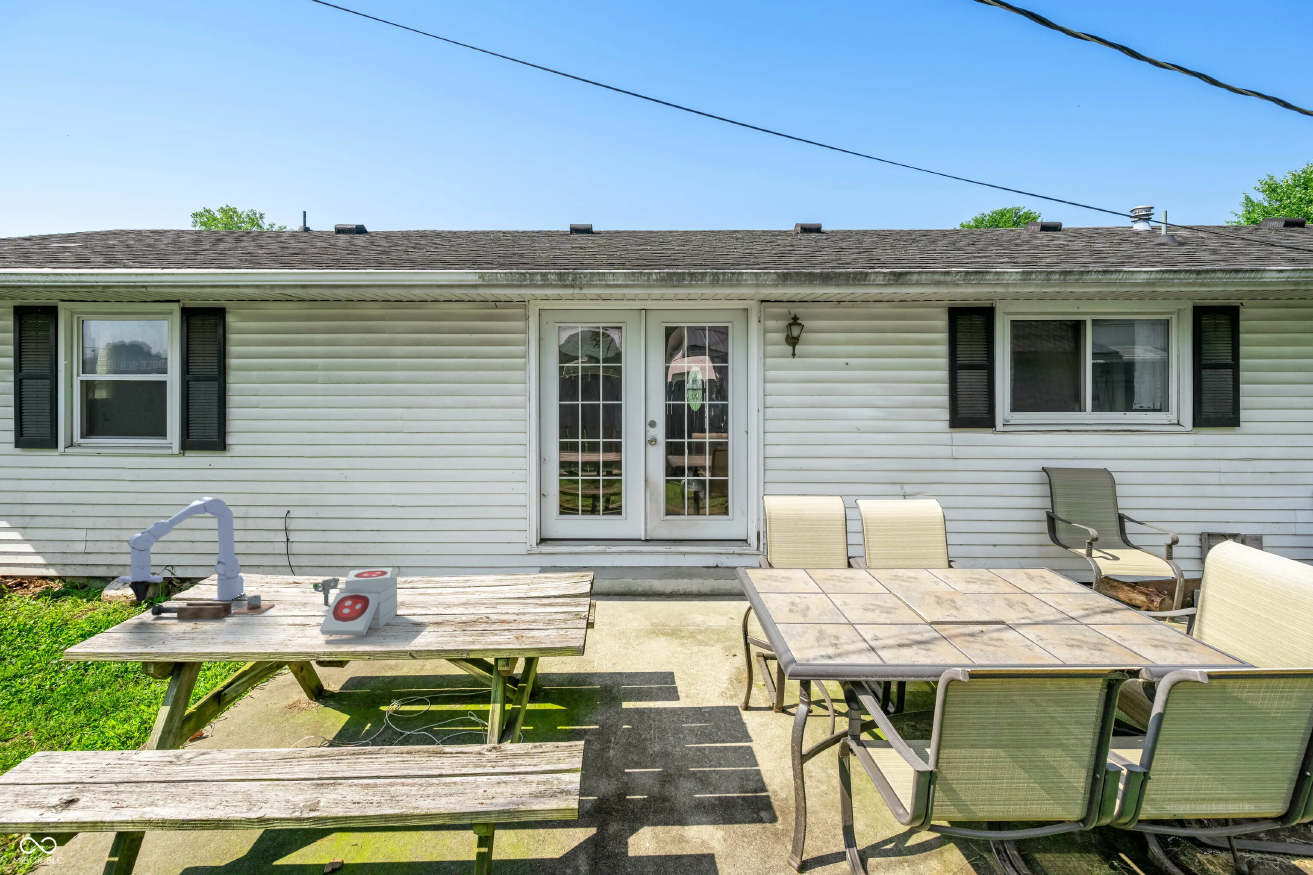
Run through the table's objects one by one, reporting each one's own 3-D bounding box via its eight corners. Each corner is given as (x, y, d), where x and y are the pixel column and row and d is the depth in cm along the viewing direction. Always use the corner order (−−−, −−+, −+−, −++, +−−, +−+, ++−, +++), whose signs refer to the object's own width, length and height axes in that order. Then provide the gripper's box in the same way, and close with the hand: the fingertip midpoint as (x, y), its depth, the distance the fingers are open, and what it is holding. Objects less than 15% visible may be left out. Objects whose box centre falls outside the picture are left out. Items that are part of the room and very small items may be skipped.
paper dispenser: (313, 640, 202) (313, 589, 201) (357, 612, 232) (357, 567, 231) (369, 641, 202) (369, 590, 202) (405, 612, 232) (405, 567, 232)
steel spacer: (251, 606, 235) (251, 594, 234) (263, 605, 235) (263, 594, 235) (244, 609, 230) (244, 598, 230) (256, 609, 230) (256, 598, 230)
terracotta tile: (248, 605, 237) (248, 603, 237) (274, 605, 238) (274, 603, 238) (232, 614, 227) (232, 612, 227) (259, 613, 228) (259, 611, 228)
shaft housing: (177, 619, 221) (176, 607, 221) (188, 613, 227) (188, 602, 227) (221, 618, 222) (221, 606, 222) (231, 613, 228) (231, 602, 228)
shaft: (151, 617, 221) (151, 606, 221) (159, 613, 225) (159, 603, 225) (205, 616, 223) (205, 606, 222) (212, 613, 227) (212, 602, 226)
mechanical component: (311, 607, 236) (311, 583, 236) (335, 600, 245) (335, 577, 245) (316, 608, 235) (316, 584, 235) (340, 601, 244) (340, 578, 244)
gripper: (111, 568, 218) (112, 604, 218) (152, 568, 219) (152, 603, 219) (127, 563, 225) (127, 598, 225) (167, 563, 226) (167, 598, 226)
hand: (141, 600), depth 223 cm, fingers closed
